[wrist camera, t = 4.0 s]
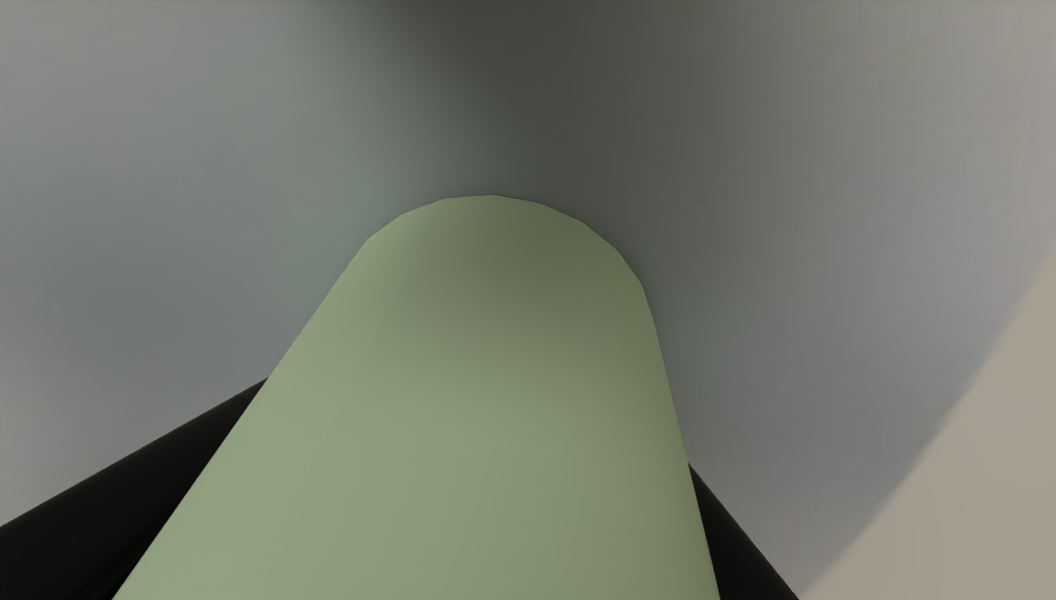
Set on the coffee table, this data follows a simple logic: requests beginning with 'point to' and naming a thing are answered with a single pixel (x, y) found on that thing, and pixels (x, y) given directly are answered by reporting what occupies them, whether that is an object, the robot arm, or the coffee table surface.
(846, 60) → the coffee table surface
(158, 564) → the candle
